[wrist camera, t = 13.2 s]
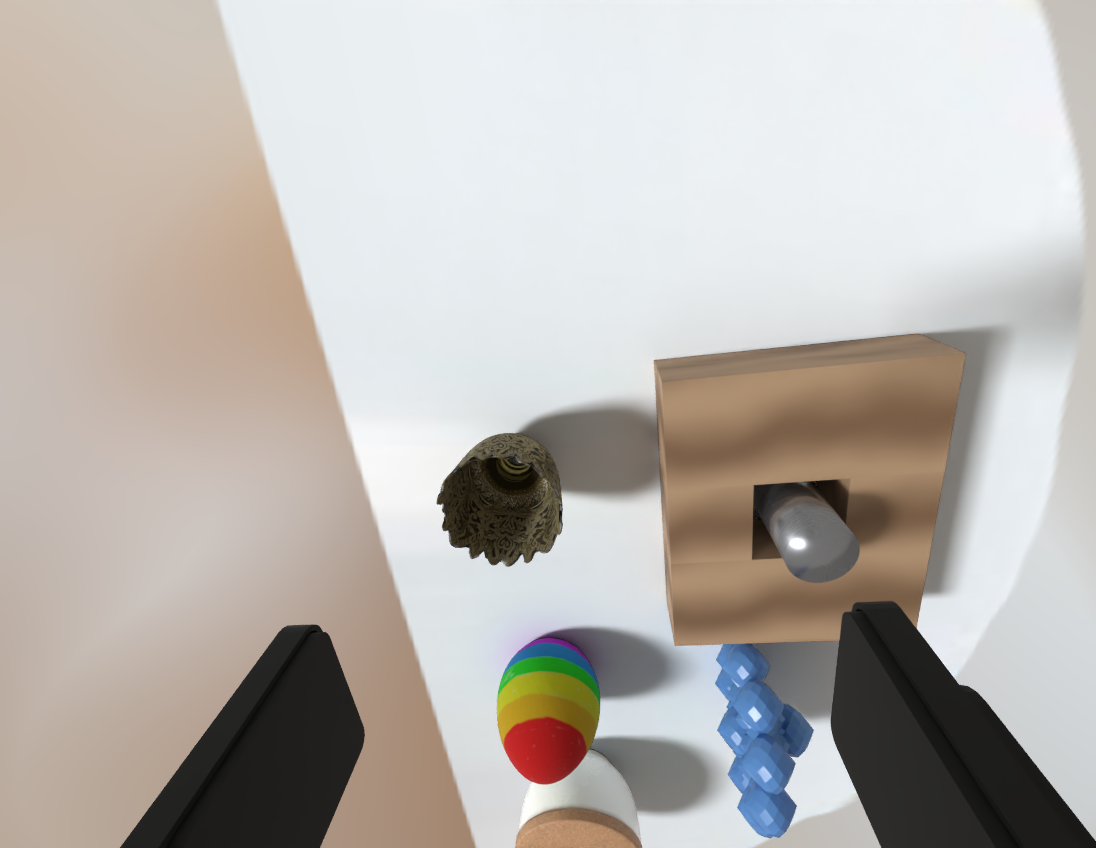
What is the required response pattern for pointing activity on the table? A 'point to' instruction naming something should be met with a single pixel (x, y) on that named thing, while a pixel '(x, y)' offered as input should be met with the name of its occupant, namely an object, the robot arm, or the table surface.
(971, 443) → the table surface
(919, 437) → the walnut block
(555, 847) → the lidded jar
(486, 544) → the cup
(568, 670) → the decorative egg
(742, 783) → the grapes
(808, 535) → the steel peg
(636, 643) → the table surface
